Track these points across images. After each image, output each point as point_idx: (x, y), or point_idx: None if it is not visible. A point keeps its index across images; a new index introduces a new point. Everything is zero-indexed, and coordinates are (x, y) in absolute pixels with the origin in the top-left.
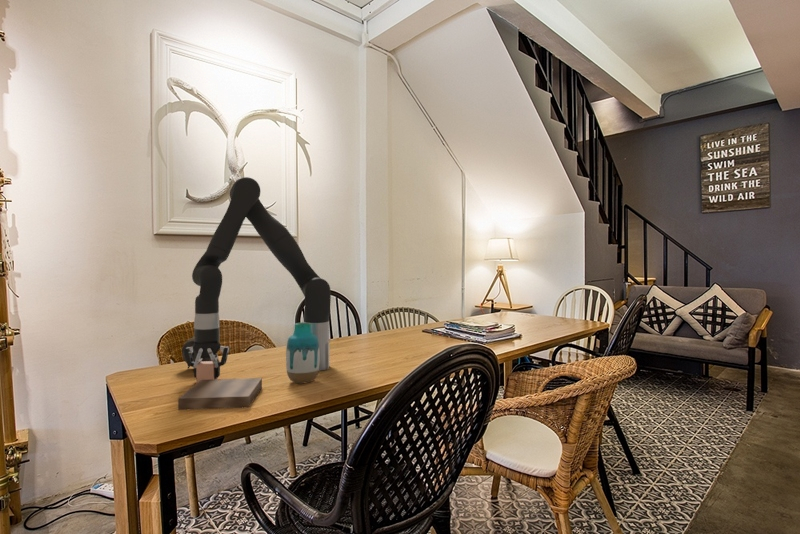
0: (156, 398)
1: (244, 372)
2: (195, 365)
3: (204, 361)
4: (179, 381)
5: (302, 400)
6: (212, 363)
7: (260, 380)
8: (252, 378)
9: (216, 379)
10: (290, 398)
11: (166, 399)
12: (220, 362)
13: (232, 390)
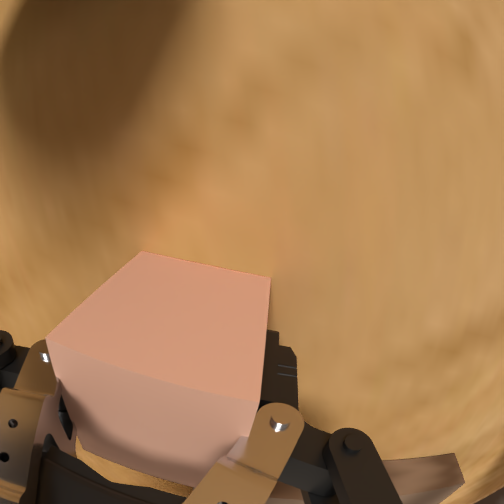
0: (83, 449)
1: (483, 118)
2: (61, 410)
3: (74, 351)
4: (30, 253)
5: (467, 499)
6: (212, 464)
7: (447, 495)
8: (436, 489)
9: (277, 499)
10: (458, 497)
11: (119, 470)
12: (303, 497)
13: None
